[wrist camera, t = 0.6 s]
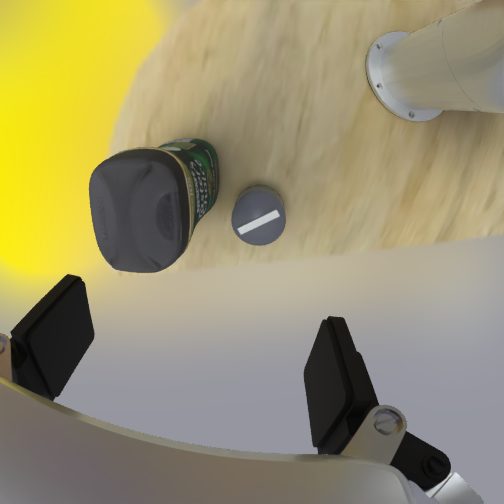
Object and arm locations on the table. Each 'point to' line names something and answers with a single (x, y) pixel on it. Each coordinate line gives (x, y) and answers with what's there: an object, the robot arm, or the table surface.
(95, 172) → the coffee jar
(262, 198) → the lid
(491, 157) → the table surface
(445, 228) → the table surface
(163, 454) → the robot arm
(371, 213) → the table surface
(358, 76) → the table surface
